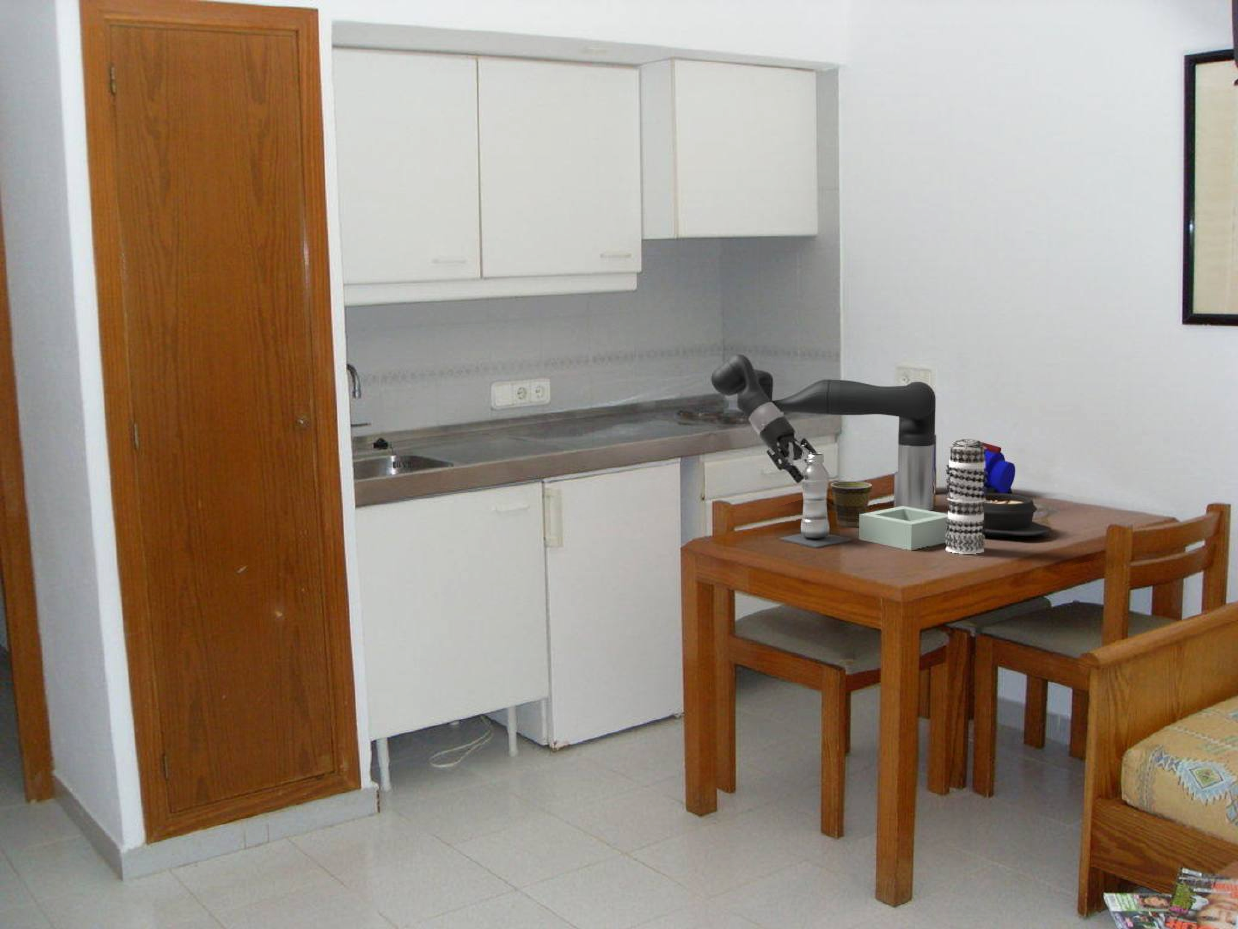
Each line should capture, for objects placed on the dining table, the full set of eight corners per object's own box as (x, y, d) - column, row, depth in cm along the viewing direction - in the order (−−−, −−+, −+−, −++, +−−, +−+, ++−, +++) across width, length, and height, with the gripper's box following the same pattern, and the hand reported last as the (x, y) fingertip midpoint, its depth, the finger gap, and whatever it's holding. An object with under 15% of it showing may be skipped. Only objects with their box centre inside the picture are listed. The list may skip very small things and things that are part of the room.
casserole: (932, 530, 315) (932, 496, 313) (978, 519, 326) (979, 487, 325) (1021, 547, 296) (1023, 510, 294) (1067, 535, 307) (1068, 500, 306)
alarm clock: (978, 490, 367) (980, 437, 364) (1019, 495, 359) (1021, 441, 356) (957, 496, 358) (958, 442, 356) (998, 501, 350) (1000, 446, 347)
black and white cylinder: (935, 550, 293) (938, 440, 289) (959, 544, 299) (962, 436, 295) (970, 557, 286) (973, 444, 282) (993, 550, 292) (997, 440, 288)
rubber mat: (778, 539, 306) (778, 538, 306) (814, 532, 314) (814, 531, 314) (816, 548, 297) (816, 546, 297) (851, 540, 304) (851, 539, 304)
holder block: (859, 539, 305) (859, 514, 304) (902, 530, 315) (902, 506, 314) (911, 550, 293) (911, 524, 292) (954, 540, 303) (955, 515, 302)
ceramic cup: (869, 520, 327) (870, 481, 326) (873, 528, 317) (873, 488, 316) (817, 520, 329) (817, 481, 327) (819, 528, 319) (819, 488, 317)
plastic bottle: (830, 541, 302) (831, 456, 299) (801, 541, 303) (801, 456, 299) (828, 535, 308) (829, 452, 305) (799, 535, 309) (800, 452, 306)
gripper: (779, 432, 317) (818, 483, 311) (744, 439, 306) (784, 492, 300) (797, 412, 312) (837, 464, 306) (762, 418, 302) (803, 472, 296)
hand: (811, 478), depth 303 cm, fingers open, 8 cm apart
